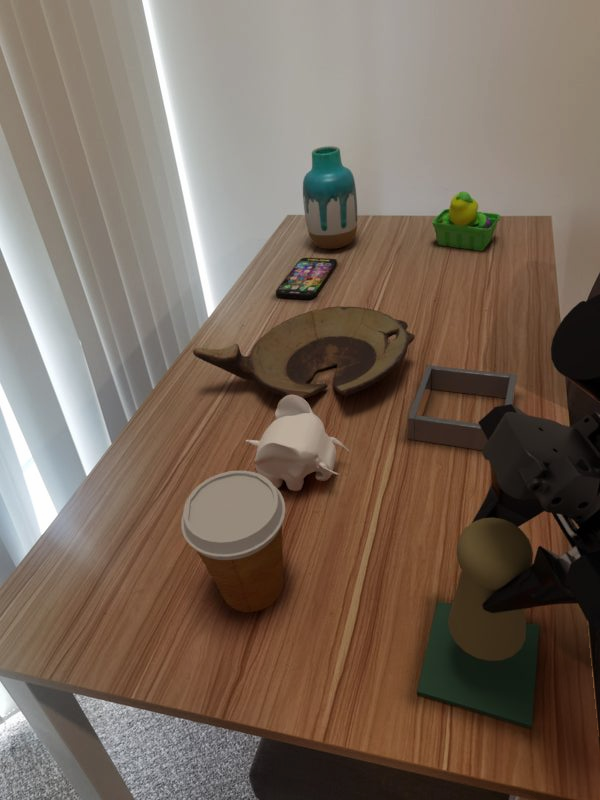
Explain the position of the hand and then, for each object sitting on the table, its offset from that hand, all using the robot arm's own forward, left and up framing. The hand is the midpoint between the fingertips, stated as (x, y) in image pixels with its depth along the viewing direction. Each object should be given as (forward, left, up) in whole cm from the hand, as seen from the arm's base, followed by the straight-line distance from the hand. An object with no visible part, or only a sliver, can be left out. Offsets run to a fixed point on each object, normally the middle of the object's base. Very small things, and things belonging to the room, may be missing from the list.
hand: (473, 578), depth 45 cm
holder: (+5, -33, -12) cm, 36 cm away
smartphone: (+39, -67, -12) cm, 79 cm away
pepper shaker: (-1, -1, -7) cm, 7 cm away
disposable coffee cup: (+21, -2, -12) cm, 25 cm away
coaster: (-1, -1, -12) cm, 12 cm away
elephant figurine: (+22, -18, -12) cm, 31 cm away
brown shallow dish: (+28, -39, -12) cm, 50 cm away
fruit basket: (+13, -86, -12) cm, 88 cm away
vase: (+39, -83, -12) cm, 93 cm away
